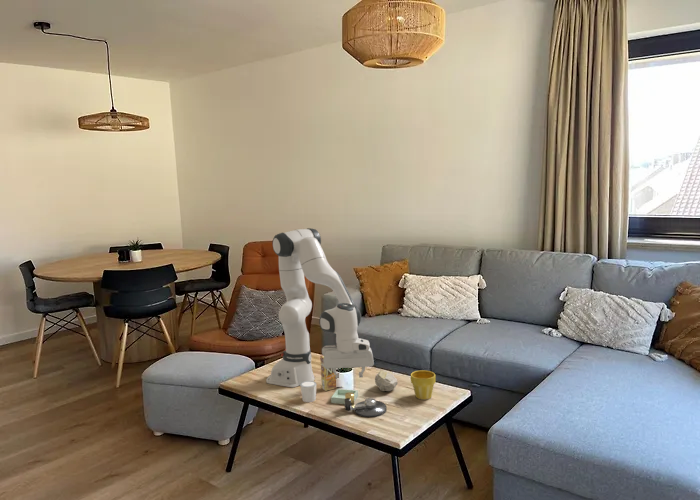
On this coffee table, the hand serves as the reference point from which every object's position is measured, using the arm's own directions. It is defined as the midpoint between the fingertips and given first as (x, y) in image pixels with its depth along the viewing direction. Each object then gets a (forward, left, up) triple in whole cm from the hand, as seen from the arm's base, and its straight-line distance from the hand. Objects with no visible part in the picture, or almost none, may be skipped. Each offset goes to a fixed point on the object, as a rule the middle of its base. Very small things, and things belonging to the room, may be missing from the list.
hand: (349, 377), depth 211 cm
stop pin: (0, 0, -13) cm, 13 cm away
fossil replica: (+10, +22, -13) cm, 28 cm away
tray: (-5, +8, -13) cm, 16 cm away
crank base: (+8, 0, -13) cm, 15 cm away
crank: (+5, -2, -12) cm, 13 cm away
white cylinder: (-20, +5, -13) cm, 24 cm away
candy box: (-14, +19, -13) cm, 27 cm away
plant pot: (+27, +17, -13) cm, 35 cm away
